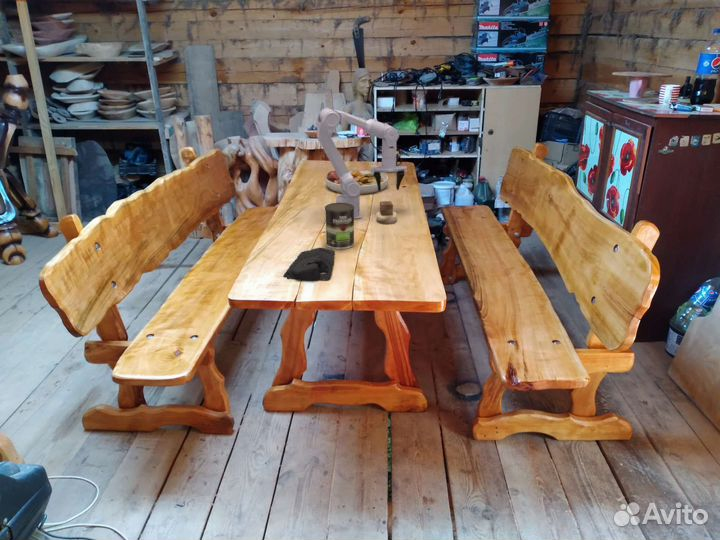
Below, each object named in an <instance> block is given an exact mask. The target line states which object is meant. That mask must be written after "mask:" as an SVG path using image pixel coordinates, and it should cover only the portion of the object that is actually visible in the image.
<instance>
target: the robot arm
mask: <svg viewBox="0 0 720 540" xmlns="http://www.w3.org/2000/svg"><path fill="white" fill-rule="evenodd" d="M316 121H317V122H316V123H317V128H316V137H317V140H318V142H319V144H320V145H321V148H322V149H323V152H324V153H325V155H326V157H327V158H328V161H329V162H330V164H331V166H332V168H333V170H334V171H336V173H337V175H338V178H339V180H340V186H341V188H342V189H343V192H342V193H341V195H337V196H336V198H335V199H336V202H335V203H348V204H352V205H353V206H354V220H355V219H356V220H357V219H362V218H363V217H362V215H361V211H360V210H361V209H360V207H361V205H360V203H361V202H360V201H361V200H360V198H361V194H360V192H361V186H360V184H359V183H357V182H356V181H355V180H354V178H353V177H352V175H351V174H350V172H349V170H350V169H349V168H348V166H347V165H346V162H345V161H344V159H343V157H342V156H341V153H340V152H339V150H338V148H337V145H335V143H334V140H333V139H332V136H333V133H334V131H335V129H336V128H337V127H338V126H339V125H340V126H342V125H345V124H349V125H351V126H355V127H358V128H360V129H363V130H364V133H365V134H367V135H370V136H372V137H376V138H378V139H381V141H382V143H381V166H376V167H370V171H371V173H372V174H374V176H375V179H376V182H377V186H378V190H379V191H378V192H380V191H382V190H381V184H380V182H381V175H380V173H383V174H386V172H394V173H395V174H396V188H395V190H400V187H401V183H402V181H403V179H404V176H405V173H407V172H408V166H406V165H404V166H403V165H402V166H401V165H399V166H396V151H397V141H398V139H399V138H400V134H399V132H398V130H397V128H395V127H394V126H392V125H389V124H388V123H386V122H385V123H383V122H380V121H378V119H377V118H369V119H367V120H365V119H362V118H360V117H357V116H355V115H353V114H350V113H348V112H346V111H343V110H338V109H335V108H334V109H332V108H330V107H323V108H322V109H321V110H319V113H318V116H317V118H316Z"/></svg>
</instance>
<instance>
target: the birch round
mask: <svg viewBox="0 0 720 540" xmlns="http://www.w3.org/2000/svg"><path fill="white" fill-rule="evenodd" d="M375 216H376V223H377V224H379V225H393V224H395V223H397V220H398V215H397V212H396V211H394V210H393V215H391V216H381V214H380V210H379V211H377V212H376V215H375Z"/></svg>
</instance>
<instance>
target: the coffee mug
mask: <svg viewBox="0 0 720 540" xmlns="http://www.w3.org/2000/svg"><path fill="white" fill-rule="evenodd" d="M399 154H400V152H399V151H397V150H396V166H401V164H402V163H403V159H402V158H401V157H400V156H399ZM399 159H400V162H399V164H398V160H399ZM386 173H387V174H393V173H395V172H386ZM386 173H385V174H386Z"/></svg>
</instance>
